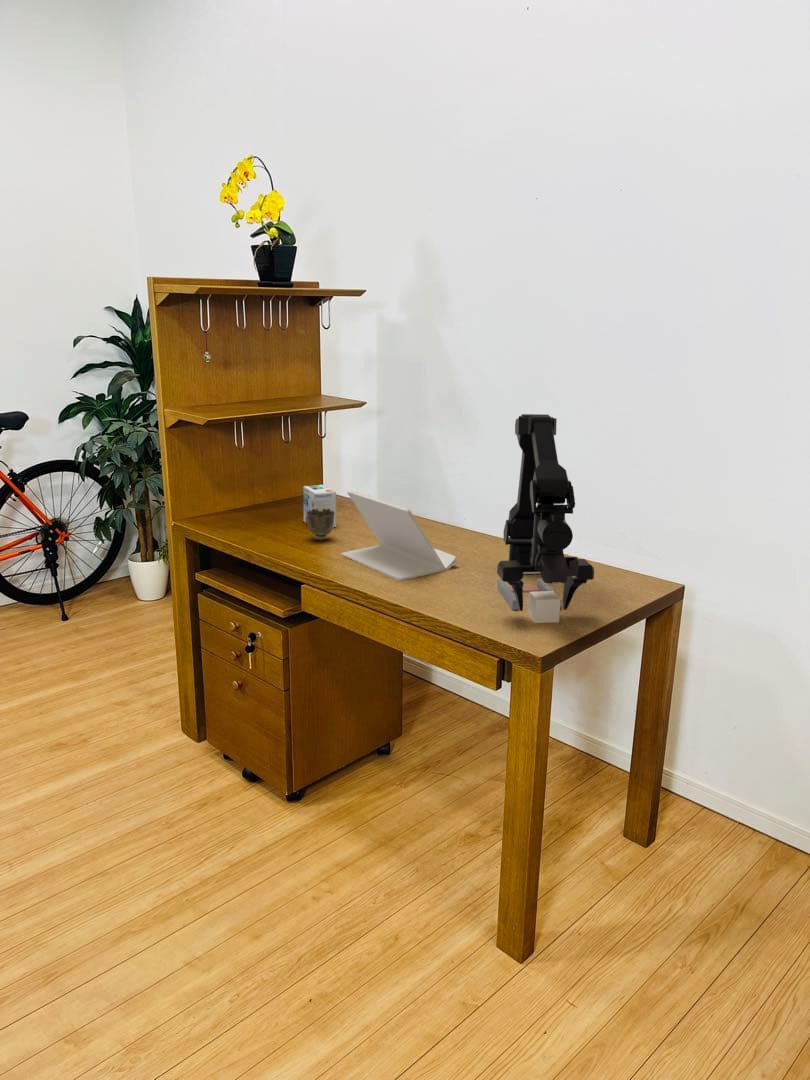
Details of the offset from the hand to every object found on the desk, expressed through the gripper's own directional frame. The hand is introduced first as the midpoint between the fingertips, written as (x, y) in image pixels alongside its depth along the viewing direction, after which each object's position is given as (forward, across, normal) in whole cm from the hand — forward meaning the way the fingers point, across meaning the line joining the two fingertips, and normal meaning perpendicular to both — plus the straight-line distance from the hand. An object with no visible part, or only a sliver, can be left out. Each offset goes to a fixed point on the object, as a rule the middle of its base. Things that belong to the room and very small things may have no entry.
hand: (542, 609), depth 168 cm
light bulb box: (+2, -44, +77) cm, 89 cm away
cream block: (+2, 0, -1) cm, 2 cm away
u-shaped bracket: (+2, 0, +12) cm, 12 cm away
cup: (+2, -44, +61) cm, 76 cm away
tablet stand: (+2, -25, +41) cm, 48 cm away
